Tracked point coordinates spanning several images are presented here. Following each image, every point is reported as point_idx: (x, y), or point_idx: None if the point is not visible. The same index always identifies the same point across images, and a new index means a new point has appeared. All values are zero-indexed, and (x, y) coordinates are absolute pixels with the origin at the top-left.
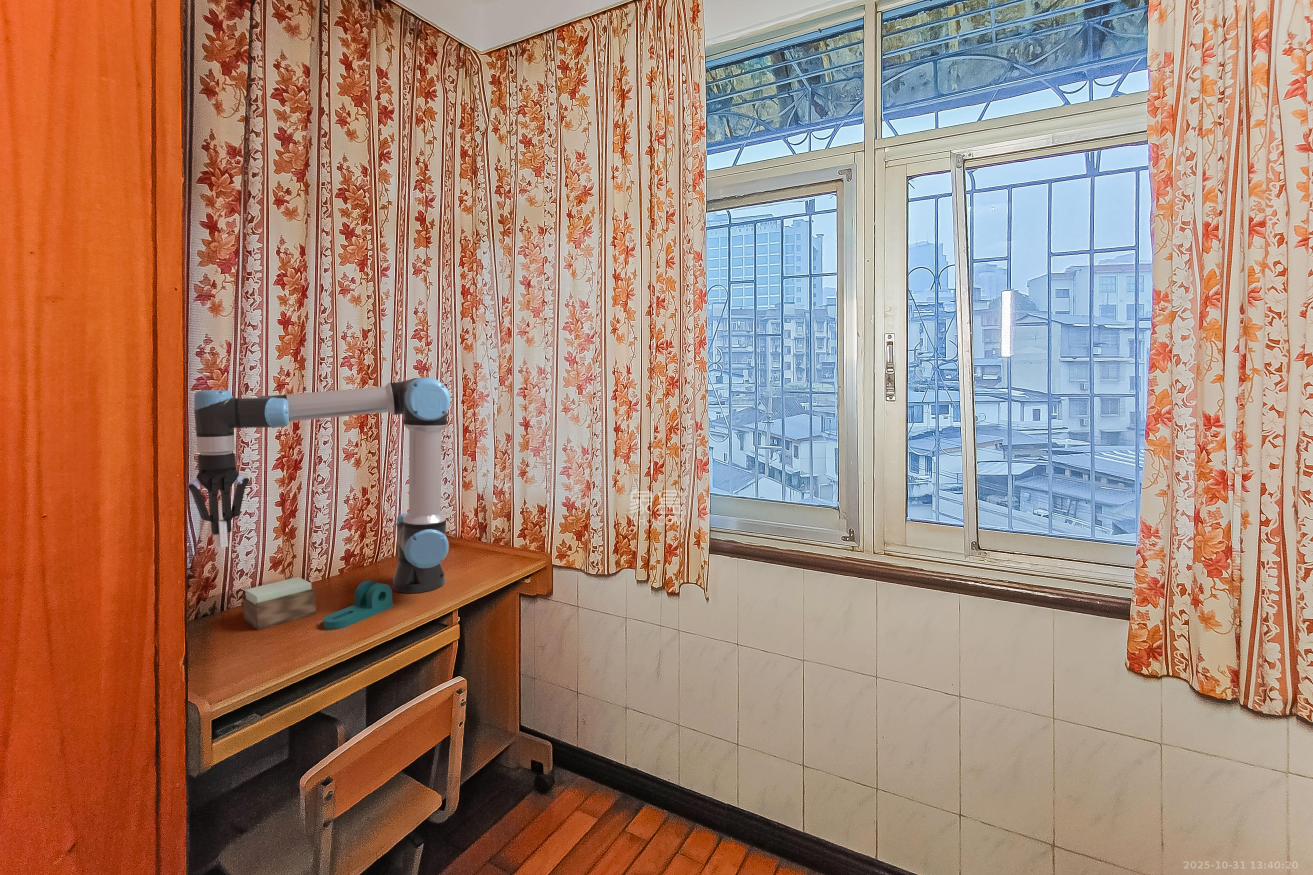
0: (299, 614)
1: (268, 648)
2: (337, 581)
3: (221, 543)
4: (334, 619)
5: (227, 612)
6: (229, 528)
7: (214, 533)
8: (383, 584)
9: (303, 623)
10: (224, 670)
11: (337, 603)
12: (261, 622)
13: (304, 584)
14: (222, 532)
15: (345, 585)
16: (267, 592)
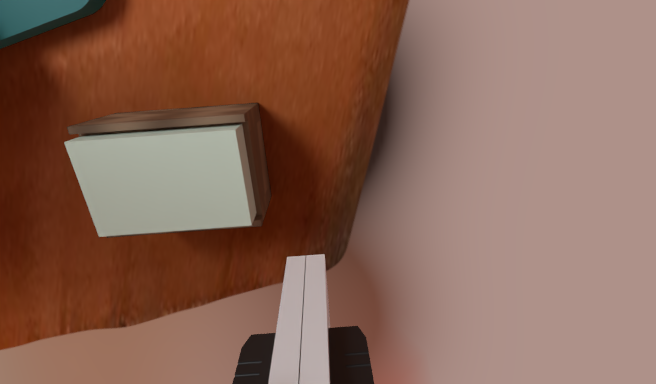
0: (153, 111)
1: None
2: (44, 301)
3: (319, 269)
4: None
5: None
6: (252, 359)
7: (358, 333)
8: None
9: (155, 62)
10: None
11: (56, 148)
12: (246, 105)
13: (86, 146)
14: (308, 322)
15: (26, 263)
16: (201, 149)
